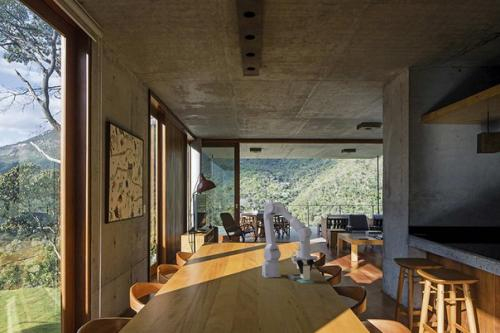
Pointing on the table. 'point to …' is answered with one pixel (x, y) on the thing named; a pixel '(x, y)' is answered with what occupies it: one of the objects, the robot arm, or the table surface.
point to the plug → (306, 272)
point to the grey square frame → (294, 276)
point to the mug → (297, 256)
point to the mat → (305, 281)
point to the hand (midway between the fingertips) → (305, 273)
